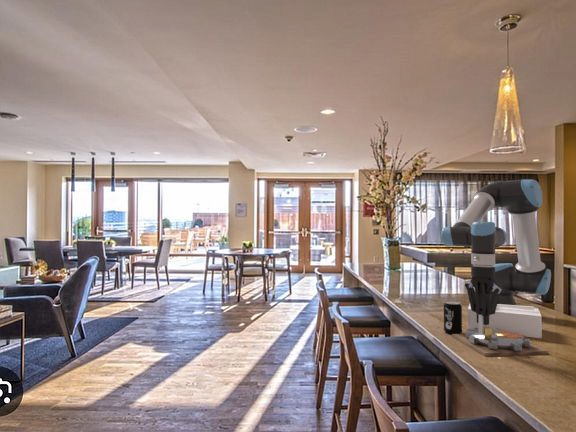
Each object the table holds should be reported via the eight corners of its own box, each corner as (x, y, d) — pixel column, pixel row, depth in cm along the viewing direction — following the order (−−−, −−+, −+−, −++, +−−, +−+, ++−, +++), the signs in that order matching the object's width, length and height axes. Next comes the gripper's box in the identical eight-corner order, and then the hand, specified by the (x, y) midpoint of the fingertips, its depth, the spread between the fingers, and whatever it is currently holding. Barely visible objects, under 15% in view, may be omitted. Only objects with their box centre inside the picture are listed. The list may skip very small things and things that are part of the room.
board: (507, 335, 147) (507, 331, 147) (548, 353, 126) (548, 350, 126) (452, 336, 145) (452, 333, 145) (484, 356, 124) (484, 352, 124)
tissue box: (470, 321, 167) (470, 296, 167) (538, 329, 155) (537, 302, 155) (468, 330, 154) (467, 303, 155) (541, 339, 142) (541, 309, 143)
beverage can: (463, 335, 146) (463, 304, 146) (445, 334, 148) (445, 303, 148) (459, 330, 153) (459, 300, 153) (442, 329, 154) (442, 300, 154)
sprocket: (480, 329, 149) (480, 314, 150) (538, 341, 134) (538, 324, 134) (455, 340, 137) (455, 323, 137) (516, 355, 121) (516, 336, 121)
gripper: (459, 264, 137) (459, 330, 136) (494, 268, 125) (494, 340, 125) (472, 263, 140) (472, 327, 140) (507, 267, 129) (507, 336, 129)
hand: (482, 333), depth 133 cm, fingers closed
